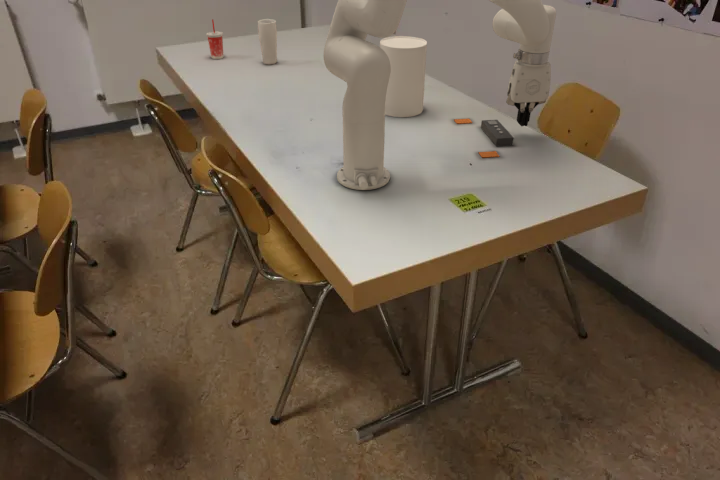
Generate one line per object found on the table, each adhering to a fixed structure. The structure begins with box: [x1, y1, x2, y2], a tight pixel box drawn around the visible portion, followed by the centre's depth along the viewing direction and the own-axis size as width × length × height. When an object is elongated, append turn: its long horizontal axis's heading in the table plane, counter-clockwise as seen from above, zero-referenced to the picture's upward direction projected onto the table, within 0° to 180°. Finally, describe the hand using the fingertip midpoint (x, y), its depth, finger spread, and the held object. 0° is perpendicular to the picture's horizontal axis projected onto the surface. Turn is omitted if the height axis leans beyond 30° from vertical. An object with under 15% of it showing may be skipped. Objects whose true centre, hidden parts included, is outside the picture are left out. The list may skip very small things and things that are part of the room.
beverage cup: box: [205, 18, 225, 60], centre depth 217 cm, size 6×6×14 cm
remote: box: [480, 119, 515, 147], centre depth 157 cm, size 13×5×2 cm, turn 8°
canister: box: [379, 35, 428, 118], centre depth 170 cm, size 14×14×20 cm
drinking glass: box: [257, 18, 278, 65], centre depth 211 cm, size 7×7×15 cm
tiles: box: [453, 118, 500, 159], centre depth 157 cm, size 26×5×1 cm, turn 8°
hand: (522, 124), depth 157 cm, fingers closed
